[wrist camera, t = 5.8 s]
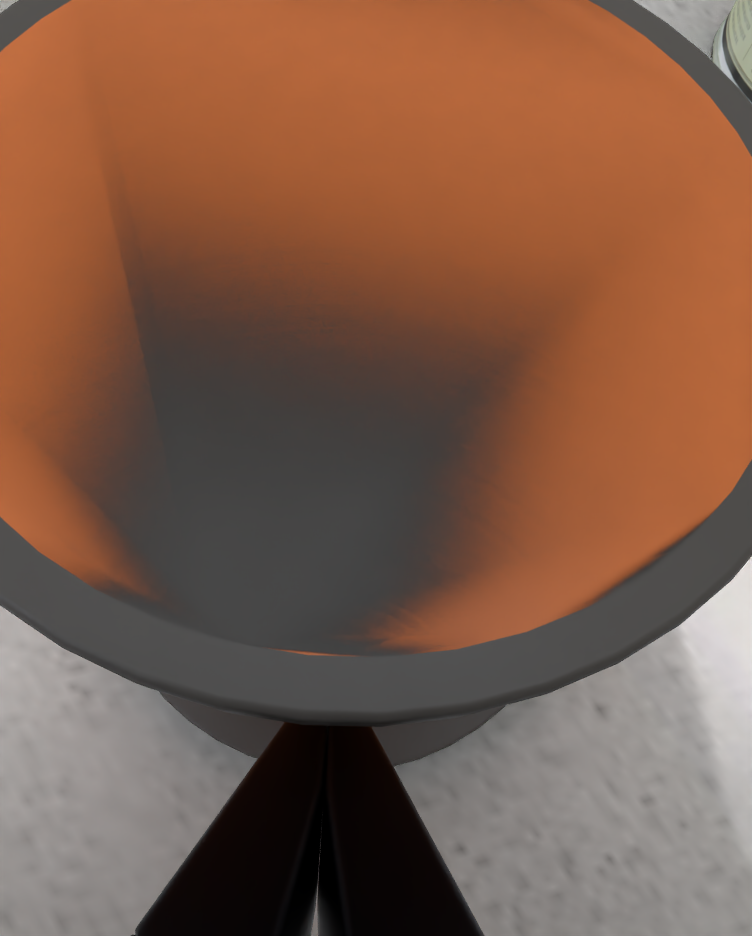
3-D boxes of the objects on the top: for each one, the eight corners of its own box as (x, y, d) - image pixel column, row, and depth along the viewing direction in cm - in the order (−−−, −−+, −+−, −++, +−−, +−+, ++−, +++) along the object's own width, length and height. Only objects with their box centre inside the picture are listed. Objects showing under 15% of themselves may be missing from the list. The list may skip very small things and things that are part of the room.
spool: (448, 871, 14) (731, 1157, 4) (18, 622, 16) (-544, 391, 6) (620, 451, 18) (977, 84, 8) (266, 282, 20) (199, -210, 10)
